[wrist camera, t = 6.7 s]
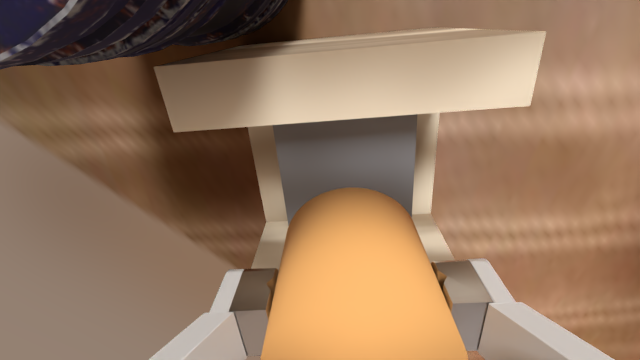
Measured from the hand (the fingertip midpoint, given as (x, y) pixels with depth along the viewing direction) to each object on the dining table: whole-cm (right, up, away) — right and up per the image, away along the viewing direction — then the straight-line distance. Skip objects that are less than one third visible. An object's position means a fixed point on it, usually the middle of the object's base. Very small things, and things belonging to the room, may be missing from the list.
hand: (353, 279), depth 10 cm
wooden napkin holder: (0, +5, +11) cm, 12 cm away
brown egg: (0, +1, +1) cm, 2 cm away
